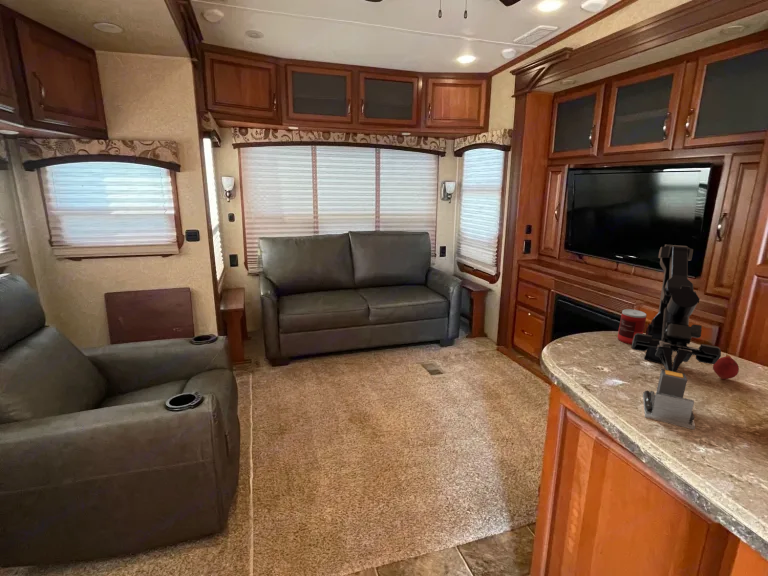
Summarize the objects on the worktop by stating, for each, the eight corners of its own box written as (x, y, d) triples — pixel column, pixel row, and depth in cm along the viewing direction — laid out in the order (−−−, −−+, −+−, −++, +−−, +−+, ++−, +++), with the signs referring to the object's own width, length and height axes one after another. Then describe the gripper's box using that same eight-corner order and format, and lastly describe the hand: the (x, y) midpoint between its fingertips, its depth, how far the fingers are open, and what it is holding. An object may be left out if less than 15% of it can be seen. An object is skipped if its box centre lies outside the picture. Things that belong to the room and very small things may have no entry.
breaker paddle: (655, 397, 105) (661, 368, 103) (677, 402, 103) (685, 372, 101) (656, 404, 102) (662, 374, 100) (679, 410, 100) (687, 379, 97)
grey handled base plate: (642, 395, 109) (647, 372, 107) (687, 405, 104) (693, 382, 102) (644, 417, 99) (650, 392, 97) (694, 429, 94) (701, 404, 92)
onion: (735, 379, 118) (742, 354, 116) (734, 386, 114) (741, 361, 112) (711, 372, 122) (717, 349, 120) (709, 379, 118) (715, 354, 116)
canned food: (639, 338, 148) (644, 310, 145) (642, 346, 141) (648, 317, 138) (616, 335, 151) (621, 307, 148) (618, 342, 144) (623, 314, 141)
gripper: (640, 305, 107) (634, 357, 101) (728, 317, 98) (727, 375, 92) (634, 323, 116) (628, 372, 109) (714, 336, 107) (713, 391, 100)
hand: (671, 377), depth 103 cm, fingers closed, pressing on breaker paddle
